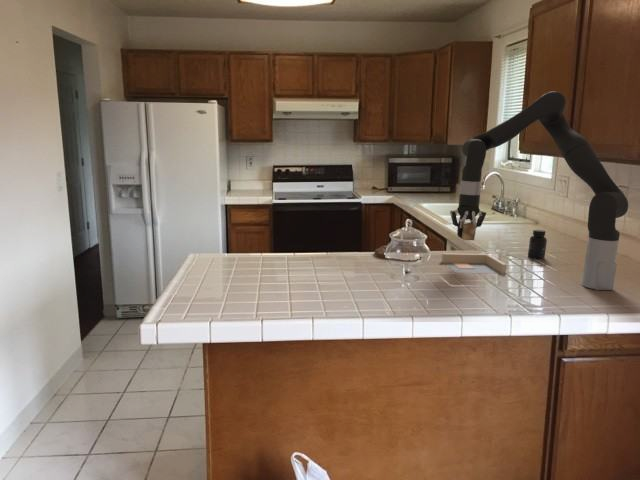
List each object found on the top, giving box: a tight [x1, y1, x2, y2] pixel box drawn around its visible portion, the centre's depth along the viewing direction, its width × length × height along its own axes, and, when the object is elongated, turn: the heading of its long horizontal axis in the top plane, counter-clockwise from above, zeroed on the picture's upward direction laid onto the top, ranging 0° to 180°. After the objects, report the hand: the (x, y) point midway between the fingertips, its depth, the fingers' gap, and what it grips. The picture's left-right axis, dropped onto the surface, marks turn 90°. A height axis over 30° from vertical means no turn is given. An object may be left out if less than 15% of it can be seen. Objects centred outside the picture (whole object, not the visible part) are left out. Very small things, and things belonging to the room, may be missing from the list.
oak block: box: [458, 221, 477, 241], centre depth 200 cm, size 4×7×6 cm, turn 5°
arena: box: [440, 252, 508, 275], centre depth 202 cm, size 18×19×4 cm
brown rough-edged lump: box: [374, 228, 402, 260], centre depth 220 cm, size 20×20×11 cm
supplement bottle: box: [527, 229, 548, 260], centre depth 223 cm, size 7×7×12 cm
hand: (465, 237), depth 201 cm, fingers closed on oak block, 4 cm apart
